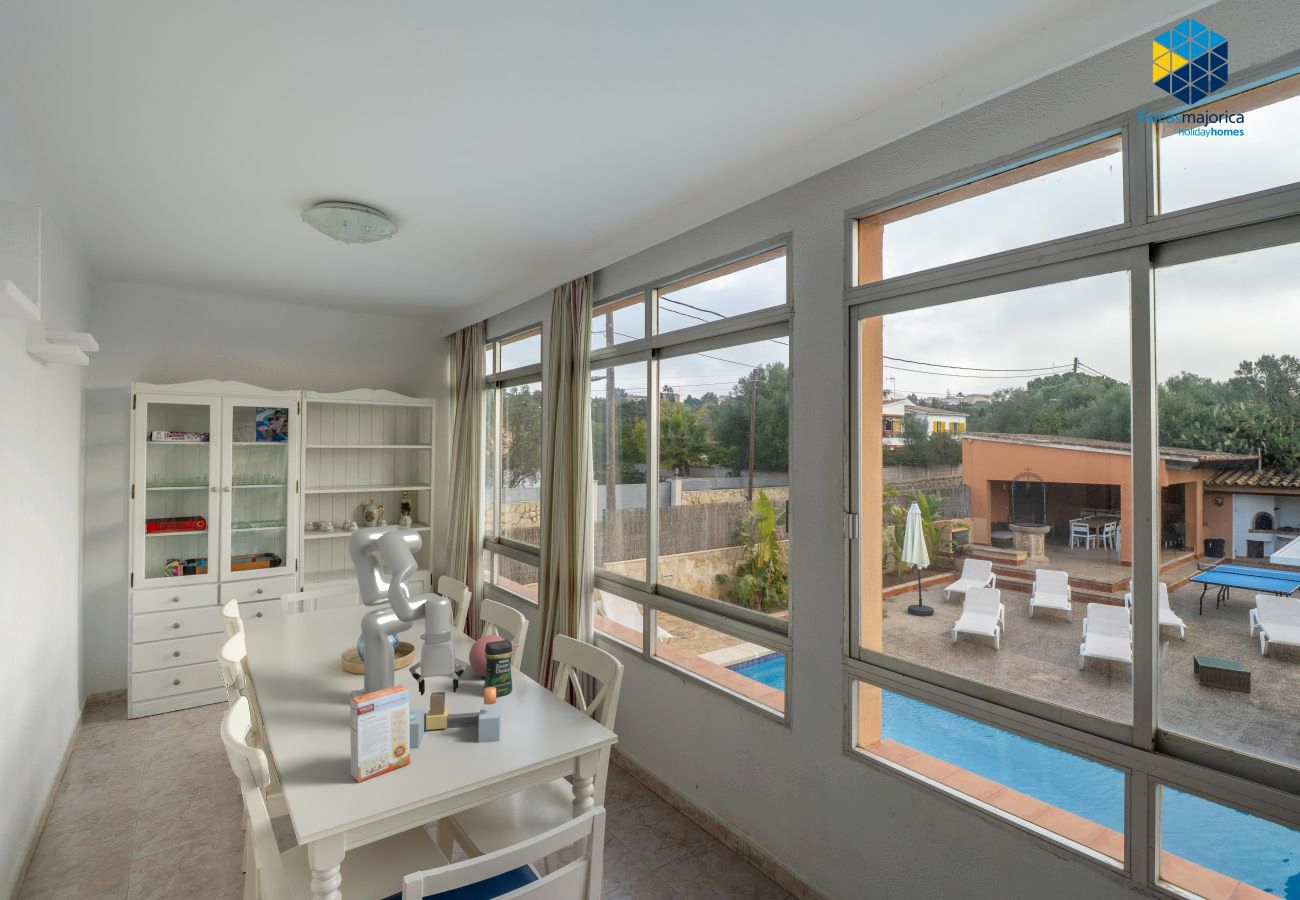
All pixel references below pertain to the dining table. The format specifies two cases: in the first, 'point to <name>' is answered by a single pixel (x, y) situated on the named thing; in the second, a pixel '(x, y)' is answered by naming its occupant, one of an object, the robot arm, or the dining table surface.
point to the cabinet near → (416, 727)
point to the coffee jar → (499, 666)
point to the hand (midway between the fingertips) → (438, 692)
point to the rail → (460, 720)
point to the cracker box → (379, 732)
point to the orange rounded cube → (489, 695)
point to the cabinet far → (490, 723)
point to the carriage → (437, 712)
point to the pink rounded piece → (483, 653)
